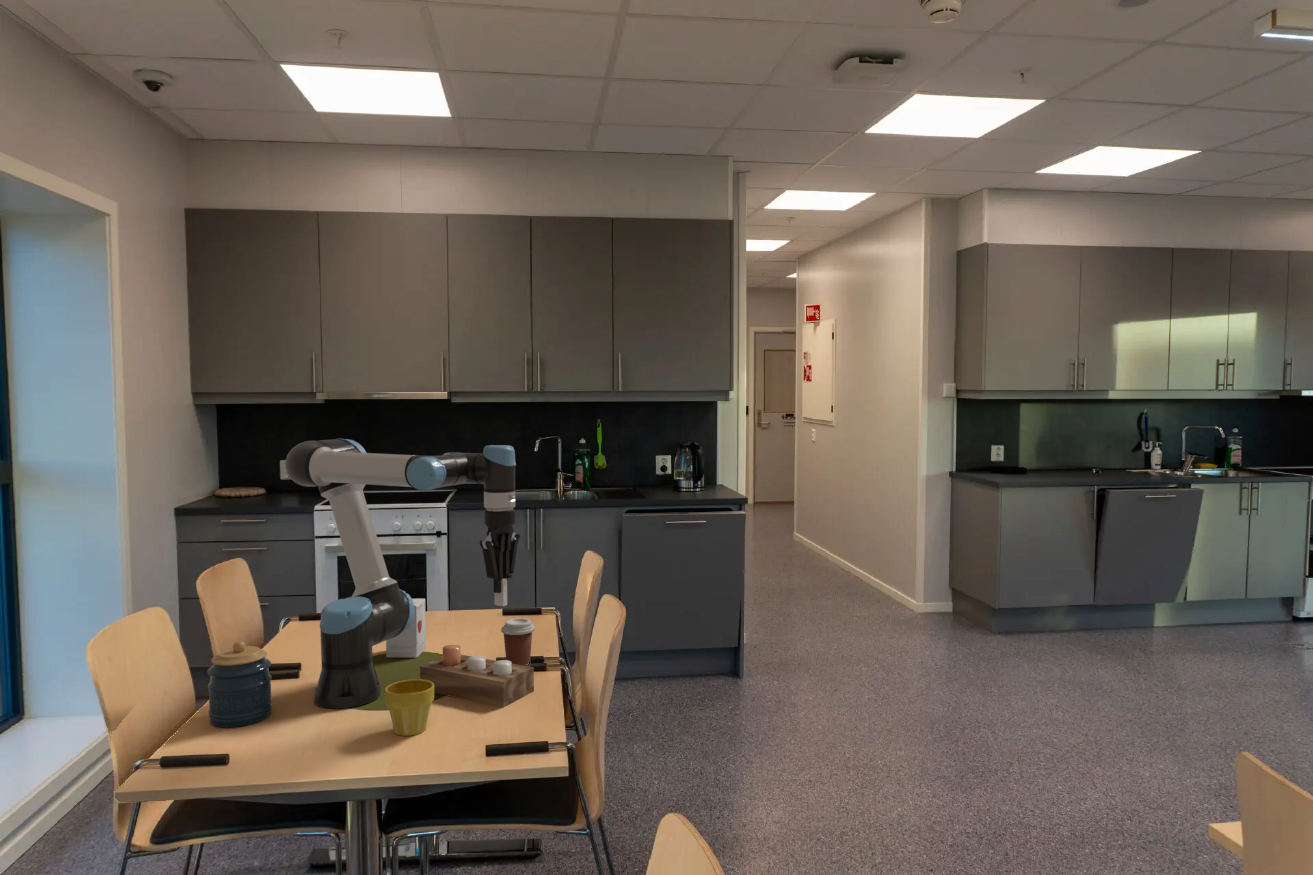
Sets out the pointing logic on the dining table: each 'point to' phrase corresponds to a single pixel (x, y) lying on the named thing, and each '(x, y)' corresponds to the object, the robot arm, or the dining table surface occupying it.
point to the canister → (239, 686)
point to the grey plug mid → (476, 663)
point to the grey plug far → (502, 667)
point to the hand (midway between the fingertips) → (500, 604)
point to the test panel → (479, 682)
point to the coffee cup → (518, 640)
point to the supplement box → (410, 636)
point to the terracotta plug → (451, 655)
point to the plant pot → (409, 705)
